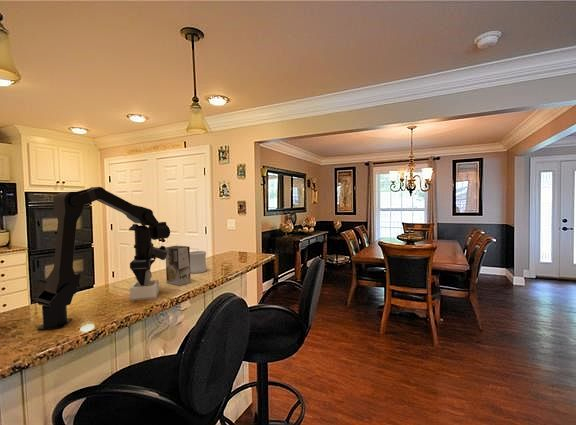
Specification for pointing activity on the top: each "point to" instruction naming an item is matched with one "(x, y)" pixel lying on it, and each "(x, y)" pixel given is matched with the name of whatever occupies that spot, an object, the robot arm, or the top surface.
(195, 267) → the mug
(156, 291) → the white hollow square box
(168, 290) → the top surface
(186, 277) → the coffee box
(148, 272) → the light bulb
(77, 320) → the top surface
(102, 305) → the top surface
